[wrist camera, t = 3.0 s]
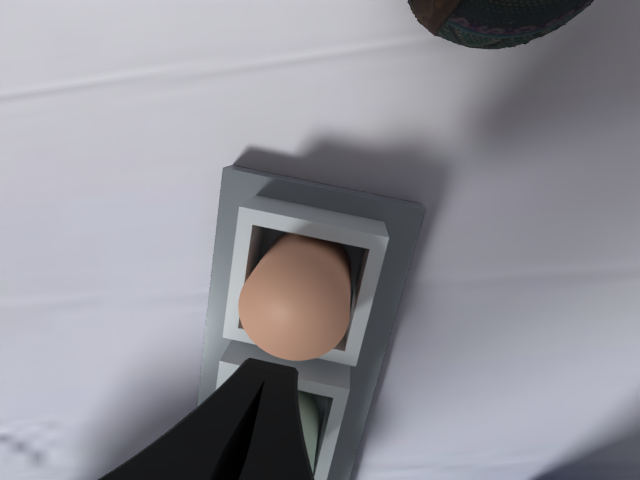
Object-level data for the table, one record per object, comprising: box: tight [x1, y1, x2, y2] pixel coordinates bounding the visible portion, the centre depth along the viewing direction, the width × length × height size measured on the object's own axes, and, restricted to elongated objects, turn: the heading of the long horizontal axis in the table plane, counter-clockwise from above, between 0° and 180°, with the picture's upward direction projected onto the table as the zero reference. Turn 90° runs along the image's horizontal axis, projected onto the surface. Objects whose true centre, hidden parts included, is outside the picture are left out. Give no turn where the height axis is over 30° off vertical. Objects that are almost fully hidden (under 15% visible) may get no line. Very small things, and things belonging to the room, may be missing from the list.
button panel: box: [197, 165, 426, 480], centre depth 19 cm, size 22×9×4 cm, turn 169°
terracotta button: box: [238, 232, 351, 361], centre depth 15 cm, size 4×4×4 cm
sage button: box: [298, 390, 320, 472], centre depth 16 cm, size 4×4×4 cm
